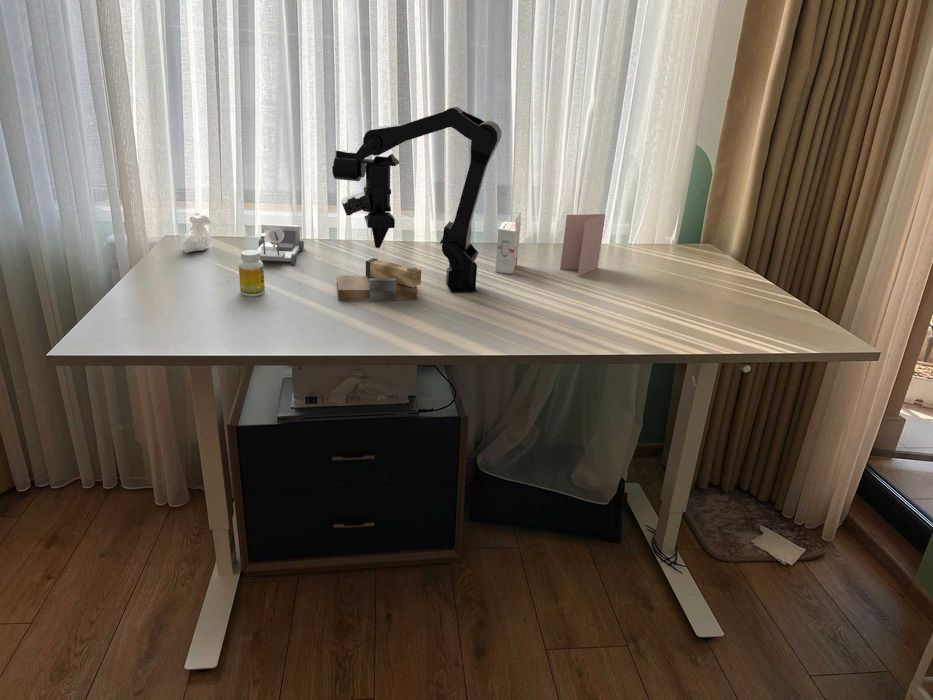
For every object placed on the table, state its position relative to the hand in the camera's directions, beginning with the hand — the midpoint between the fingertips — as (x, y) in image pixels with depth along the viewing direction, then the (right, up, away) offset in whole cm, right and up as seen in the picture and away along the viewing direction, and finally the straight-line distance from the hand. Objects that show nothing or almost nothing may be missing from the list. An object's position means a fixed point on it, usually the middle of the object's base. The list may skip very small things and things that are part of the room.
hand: (377, 247), depth 174 cm
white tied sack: (-49, +2, +15) cm, 52 cm away
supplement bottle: (-27, -12, -12) cm, 32 cm away
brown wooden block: (+1, -11, -6) cm, 13 cm away
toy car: (-28, -1, +13) cm, 31 cm away
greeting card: (+53, -4, +18) cm, 57 cm away
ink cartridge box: (+32, -3, +17) cm, 37 cm away
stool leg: (+4, -9, -6) cm, 11 cm away
